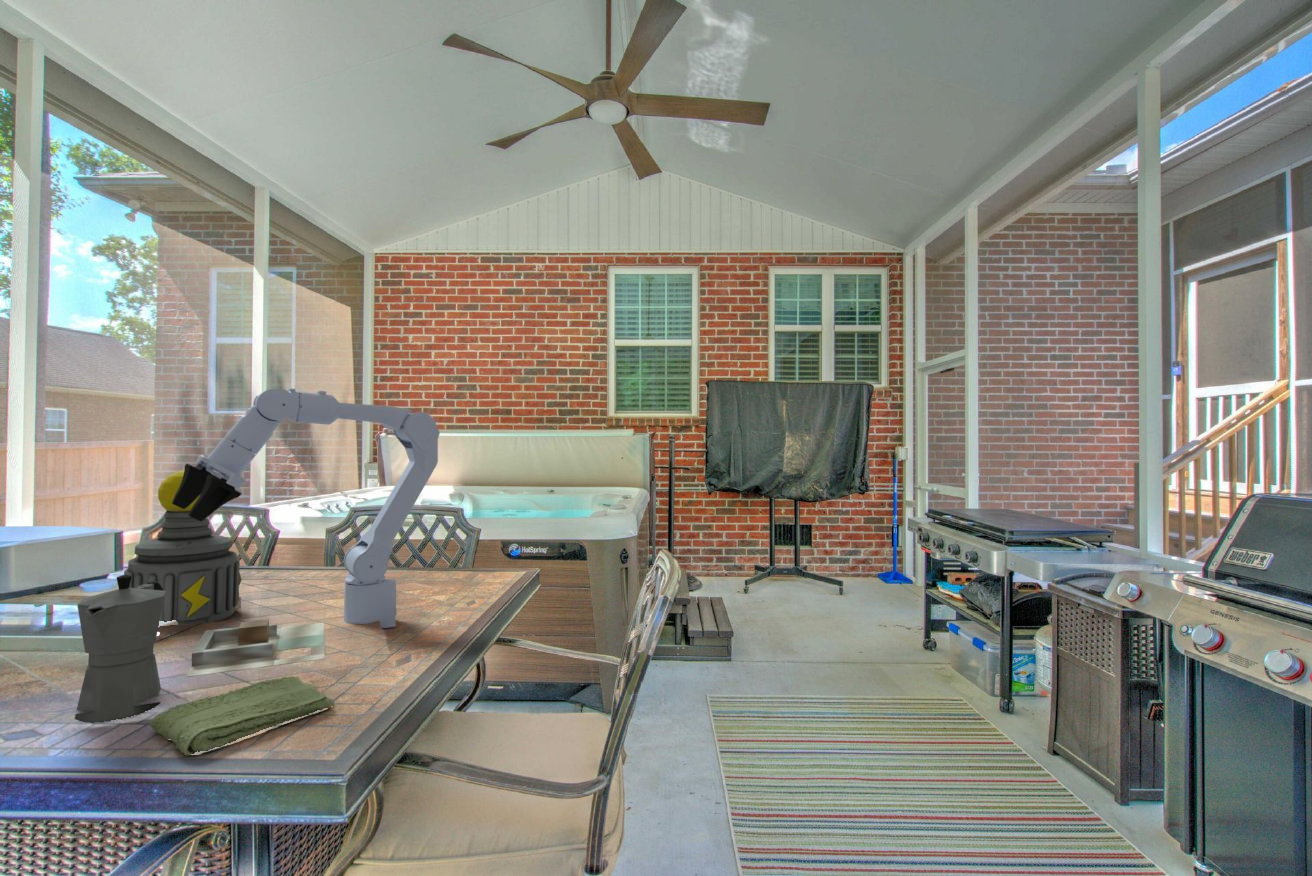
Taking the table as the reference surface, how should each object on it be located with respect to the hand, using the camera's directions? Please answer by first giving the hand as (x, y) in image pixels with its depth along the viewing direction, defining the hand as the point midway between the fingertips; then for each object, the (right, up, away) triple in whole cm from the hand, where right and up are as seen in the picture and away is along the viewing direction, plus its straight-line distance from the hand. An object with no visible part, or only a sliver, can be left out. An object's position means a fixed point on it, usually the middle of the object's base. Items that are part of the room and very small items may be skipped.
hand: (186, 512), depth 104 cm
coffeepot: (+7, -24, -21) cm, 33 cm away
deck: (+13, -24, 0) cm, 28 cm away
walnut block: (+12, -23, -1) cm, 26 cm away
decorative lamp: (-15, -24, +19) cm, 35 cm away
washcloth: (+26, -25, -24) cm, 43 cm away
